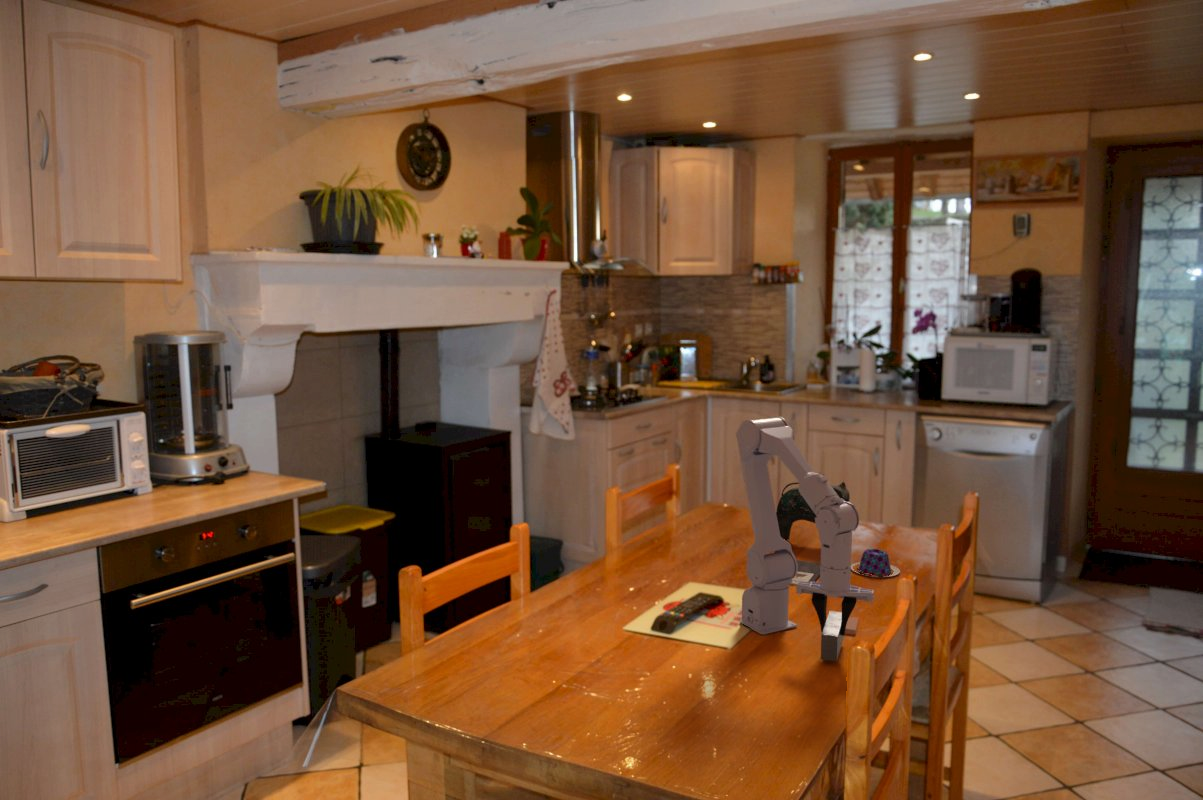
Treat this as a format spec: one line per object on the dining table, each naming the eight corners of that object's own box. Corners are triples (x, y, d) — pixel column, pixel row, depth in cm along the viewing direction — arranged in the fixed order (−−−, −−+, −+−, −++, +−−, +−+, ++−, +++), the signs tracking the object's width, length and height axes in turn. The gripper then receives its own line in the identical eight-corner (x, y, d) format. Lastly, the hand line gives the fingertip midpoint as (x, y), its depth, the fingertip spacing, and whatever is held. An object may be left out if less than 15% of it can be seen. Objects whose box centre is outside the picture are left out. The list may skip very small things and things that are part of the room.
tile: (855, 629, 189) (858, 617, 196) (825, 626, 191) (829, 614, 198) (855, 636, 189) (858, 624, 196) (825, 633, 191) (829, 621, 198)
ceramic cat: (848, 545, 251) (851, 474, 248) (841, 552, 246) (844, 478, 243) (779, 535, 261) (781, 466, 259) (771, 540, 256) (773, 470, 253)
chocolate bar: (828, 564, 233) (810, 585, 217) (827, 567, 234) (810, 589, 218) (793, 559, 237) (773, 580, 221) (793, 563, 237) (773, 583, 222)
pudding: (908, 579, 225) (909, 558, 224) (860, 580, 224) (861, 559, 223) (888, 563, 237) (889, 544, 236) (843, 565, 235) (843, 545, 235)
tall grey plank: (836, 661, 174) (837, 636, 173) (820, 659, 175) (821, 634, 174) (844, 636, 185) (845, 612, 184) (829, 633, 186) (829, 610, 185)
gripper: (794, 566, 176) (792, 634, 178) (872, 575, 171) (869, 645, 173) (800, 556, 183) (798, 621, 185) (875, 564, 178) (873, 631, 179)
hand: (833, 632), depth 179 cm, fingers closed on tall grey plank, 3 cm apart
